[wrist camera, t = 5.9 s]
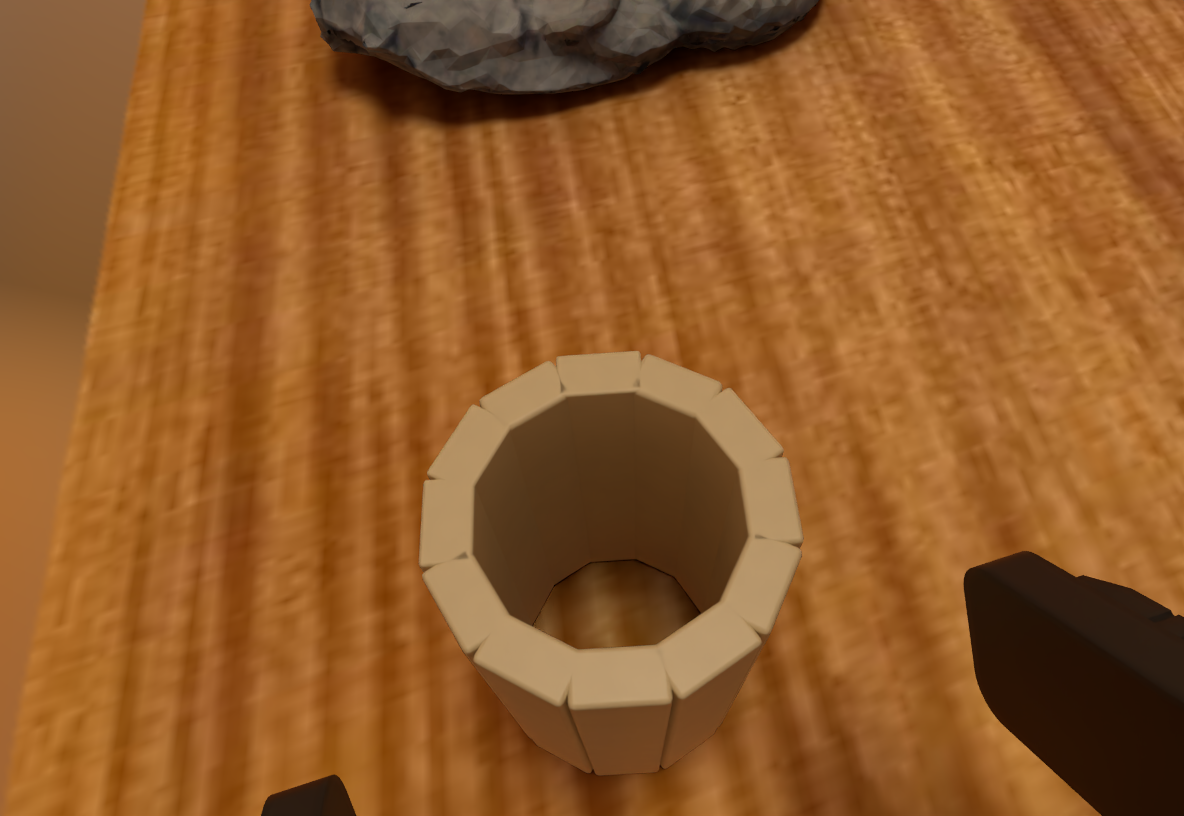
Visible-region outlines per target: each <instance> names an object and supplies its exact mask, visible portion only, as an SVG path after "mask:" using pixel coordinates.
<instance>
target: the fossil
mask: <svg viewBox="0 0 1184 816" xmlns="http://www.w3.org/2000/svg"><path fill="white" fill-rule="evenodd" d="M818 1H819V0H311V3H310V7H311V9H312V10H313V13H314V15H315V18H316V21H317V23H318V25H319V27H320V30H321V36H320V37H321V38H323V39H324V40H325V41H326V42H327V43H328V44H329V45H330V47H331V48H332V50H333V51H336V52H348V53H359V54H364V55H369V56H374V57H377V58H379V59H381V60H385V61H387V62H389V63H391V64H393V65H395V66H397V67H399V68H401V69H403V70H405V71H407V72H409V73H411V74H414V75H416V76H418V77H421V78H424V79H427V80H429V81H431V82H433V83H435V84H436V85H438V86H440V87H442V88H444V89H447V90H452V91H456V92H463V91H466V90H469V89H472V90H478V91H483V92H487V93H495V94H555V93H562V92H568V91H577V90H585V89H588V88H590V87H594V86H598V85H603V84H607V83H611V82H616V81H619V80H623V79H626V78H627V77H629V76H630V75H631V74H633V73H634V74H640V73H641V72H643V71H644V70H645V69H646V68H647V66H649V65H651V64H653V63H655V62H657V61H659V60H660V59H662V58H663V57H664V56H665V55H667V54H668V53H669V52H670V51H671V50H672V49H676V47H682V46H684V47H686V48H690V49H696V48H699V47H704V48H707V49H710V50H712V51H713V52H715V51H717V50H719V49H721V48H723V47H725V48H729V49H733V50H735V49H738V48H740V47H742V46H745V45H758V44H760V43H762V42H766V41H769V40H773V39H775V38H776V37H777V36H779V35H780V34H782V33H783V32H785V31H786V30H788V29H789V28H790V27H791V26H792V25H793V24H795V23H796V22H797V21H801V20H802V19H804V17H805V16H806V14H807V13H808V12H809V11H810V9H811V8H812V7H814V6H816V4H817V2H818Z"/></svg>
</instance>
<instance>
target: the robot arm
mask: <svg viewBox="0 0 1184 816" xmlns="http://www.w3.org/2000/svg"><path fill="white" fill-rule="evenodd" d="M964 593H965V601H966V608H967V616H968V623H969V631H970V638H971V646H972V653H973V661H974V668H975V674H976V679H977V682H978V685H979V688H980V690H981V693H982V695H983V697H984V699H985V701H986V703H987V705H988V706H989V708H990V709H991V711H992V712H993V714H994V715H995V716H996V718H997V719H998V720H999V721H1000V722H1001V723H1002V724H1003V725H1004V726H1005V727H1006V728H1007V729H1008V730H1009V731H1010V732H1011V733H1012V734H1013V735H1015V736H1016V737H1017V738H1018V739H1019V740H1020V741H1021V742H1022V743H1023V744H1024V745H1025V746H1027V747H1028V748H1029V749H1030V750H1031V751H1032V752H1033V753H1034V754H1035V755H1036V756H1037V757H1039V758H1040V759H1041V760H1042V761H1043V762H1044V763H1045V764H1046V765H1047V766H1048V767H1049V768H1051V769H1052V770H1053V771H1054V772H1055V773H1056V774H1057V775H1058V776H1059V777H1060V778H1061V779H1063V780H1064V781H1065V782H1066V783H1067V784H1068V785H1069V786H1070V787H1071V788H1072V789H1073V790H1075V791H1076V792H1077V793H1078V794H1079V795H1080V796H1081V797H1082V798H1083V799H1084V800H1085V801H1087V802H1088V803H1089V804H1090V805H1091V806H1092V807H1093V808H1094V809H1095V810H1096V811H1097V812H1099V813H1100V814H1101V815H1102V816H1184V617H1182V616H1180V615H1177V616H1174V615H1173V614H1172V612H1171V610H1170V609H1168V608H1166V607H1164V606H1162V605H1160V604H1159V603H1157V602H1155V601H1153V600H1151V599H1149V598H1148V597H1146V596H1144V595H1142V594H1140V593H1138V592H1137V591H1135V590H1133V589H1131V588H1127V587H1124V586H1120V585H1117V584H1113V583H1109V582H1106V581H1102V580H1099V579H1095V578H1091V577H1088V576H1084V575H1082V576H1079V577H1075V576H1073V575H1071V574H1069V573H1068V572H1066V571H1064V570H1063V569H1061V568H1059V567H1057V566H1056V565H1054V564H1052V563H1050V562H1049V561H1047V560H1045V559H1043V558H1042V557H1040V556H1038V555H1037V554H1034V553H1032V552H1029V551H1022V552H1019V553H1016V554H1013V555H1010V556H1007V557H1004V558H1000V559H997V560H994V561H991V562H988V563H985V564H982V565H979V566H976V567H973V568H970V569H969V570H968V571H967V572H966V574H965V577H964ZM261 816H356V814H355V811H354V809H353V806H352V804H351V801H350V798H349V796H348V793H347V791H346V789H345V786H344V784H343V783H342V781H341V780H340V778H339V777H338V776H337V775H331V776H328V777H325V778H322V779H318V780H315V781H312V782H309V783H306V784H303V785H300V786H297V787H294V788H291V789H288V790H285V791H282V792H279V793H276V794H273V795H270V796H269V797H268V798H267V800H266V802H265V804H264V807H263V811H262V814H261Z"/></svg>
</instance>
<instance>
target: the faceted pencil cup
mask: <svg viewBox="0 0 1184 816" xmlns="http://www.w3.org/2000/svg"><path fill="white" fill-rule="evenodd" d="M479 402H480V407H478V406H476V405H472V406H471V407H470V408H469V410H468V411H467V413H466V414H465V416H464V417H463V419H462V420H461V422H460V423H459V425H458V426H457V428H456V429H455V431H454V432H453V434H452V435H451V437H450V438H449V440H448V441H447V443H446V444H445V446H444V447H443V449H442V450H441V452H440V453H439V455H438V456H437V458H436V459H435V461H434V462H433V464H432V465H431V467H430V468H429V470H428V472H427V475H428V477H429V479H430V480H426V481H424V484H423V498H422V515H421V532H420V549H419V566H420V568H421V569H422V571H423V572H424V573H423V575H422V577H423V581H424V583H425V585H426V586H427V588H428V590H429V592H430V593H431V595H432V597H433V599H434V601H435V602H436V604H437V606H438V608H439V610H440V611H441V613H442V615H443V617H444V619H445V620H446V622H447V624H448V626H449V628H450V629H451V631H452V633H453V635H454V637H455V638H456V640H457V642H458V644H459V646H460V647H461V649H462V651H463V652H464V654H465V655H466V656H467V658H468V659H469V660H470V662H471V663H472V664H473V665H474V667H475V668H476V669H477V671H478V672H479V673H480V675H481V676H482V677H483V678H484V680H485V681H486V682H487V684H488V685H489V686H490V688H491V689H492V690H493V691H494V693H495V694H496V695H497V697H498V698H499V699H500V701H501V702H502V703H503V704H504V706H505V707H506V708H507V710H508V711H509V712H510V714H511V715H512V716H513V718H514V719H515V720H516V721H517V723H518V724H519V725H520V727H521V728H522V729H523V731H524V732H525V733H526V734H527V736H528V737H529V738H531V739H532V740H533V741H534V742H535V744H536V745H537V746H539V747H541V748H543V749H544V750H546V751H548V752H550V753H552V754H553V755H555V756H557V757H559V758H561V759H562V760H564V761H566V762H568V763H570V764H571V765H573V766H575V767H577V768H579V769H580V770H582V771H584V772H586V773H591V772H592V770H593V769H594V772H595V774H596V775H598V776H602V775H619V774H635V773H652V772H657V771H658V770H659V766H660V765H661V767H662V768H663V769H666V768H668V767H670V766H671V765H672V764H674V763H675V762H676V761H678V760H679V759H681V758H682V757H683V756H685V755H686V754H687V753H689V752H690V751H692V750H693V749H694V748H696V747H697V746H698V745H700V744H701V743H703V742H704V741H705V740H707V739H708V738H709V737H711V736H712V735H713V734H714V733H715V731H716V729H717V727H719V726H720V725H721V723H722V722H723V720H724V718H725V716H726V714H727V712H728V710H729V709H730V707H731V705H732V703H733V701H734V699H735V698H736V696H737V694H738V692H739V690H740V688H741V687H742V685H743V683H744V681H745V679H746V677H747V675H748V674H749V672H750V670H751V668H752V666H753V664H754V663H755V661H756V659H757V657H758V655H759V653H760V652H761V650H762V648H763V646H764V644H765V642H766V641H767V639H768V637H769V635H770V633H771V631H772V629H773V626H774V624H775V621H776V619H777V616H778V614H779V611H780V609H781V606H782V604H783V601H784V599H785V596H786V594H787V591H788V589H789V586H790V584H791V582H792V579H793V577H794V574H795V572H796V569H797V567H798V564H799V562H800V559H801V557H802V551H801V550H800V547H801V545H802V543H803V539H804V537H803V532H802V527H801V522H800V516H799V511H798V506H797V500H796V495H795V490H794V485H793V479H792V474H791V469H790V463H789V461H788V459H787V458H785V457H782V455H783V452H784V449H783V447H782V446H781V445H780V444H779V443H778V442H777V440H776V439H775V438H774V437H773V436H772V435H771V434H770V432H769V431H768V430H767V429H766V428H765V427H764V426H763V424H762V423H761V422H760V421H759V420H758V419H757V418H756V416H755V415H754V414H753V413H752V412H751V411H750V410H749V408H748V407H747V406H746V405H745V404H744V403H743V402H742V400H741V399H740V398H739V397H738V396H737V395H736V394H735V392H734V391H733V390H732V389H731V388H727V389H725V390H723V391H722V384H721V383H720V382H719V381H716V380H714V379H711V378H709V377H706V376H704V375H701V374H698V373H696V372H693V371H691V370H688V369H686V368H683V367H681V366H678V365H676V364H673V363H671V362H668V361H665V360H663V359H660V358H658V357H655V356H653V355H648V354H647V355H646V356H645V357H644V358H643V360H642V361H641V354H640V352H639V351H629V352H614V353H600V354H585V355H570V356H558V357H557V359H556V367H555V365H554V364H553V363H552V362H550V361H547V362H545V363H543V364H541V365H539V366H537V367H536V368H534V369H532V370H530V371H529V372H527V373H525V374H523V375H521V376H520V377H518V378H516V379H514V380H512V381H511V382H509V383H507V384H505V385H504V386H502V387H500V388H498V389H496V390H495V391H493V392H491V393H489V394H487V395H486V396H484V397H482V398H481V399H480V401H479ZM629 559H637V560H639V561H641V562H644V563H646V564H648V565H650V566H652V567H654V568H656V569H659V570H661V571H663V572H665V573H667V574H669V575H671V576H673V577H675V578H676V580H677V581H678V582H679V584H680V585H681V586H682V588H683V589H684V591H685V592H686V593H687V595H688V596H689V597H690V599H691V600H692V602H693V603H694V604H695V606H696V607H697V608H698V610H699V611H700V613H701V614H700V615H699V616H697V617H696V618H694V619H693V620H691V621H690V622H688V623H687V624H685V625H684V626H682V627H681V628H680V629H678V630H677V631H675V632H674V633H672V634H671V635H669V636H668V637H666V638H665V639H663V640H662V641H660V642H659V643H657V644H656V645H643V646H627V647H611V648H595V649H576V648H574V647H572V646H570V645H568V644H566V643H564V642H562V641H560V640H558V639H556V638H554V637H552V636H550V635H549V634H547V633H545V632H543V631H541V630H539V629H537V628H535V627H533V626H532V625H533V623H534V621H535V620H536V618H537V616H538V614H539V612H540V610H541V609H542V607H543V605H544V603H545V601H546V599H547V597H548V596H549V594H550V592H551V590H552V588H553V586H554V585H555V584H556V583H558V582H559V581H561V580H563V579H564V578H566V577H567V576H569V575H570V574H572V573H574V572H575V571H577V570H578V569H580V568H581V567H583V566H585V565H586V564H588V563H589V562H597V561H613V560H629Z"/></svg>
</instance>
